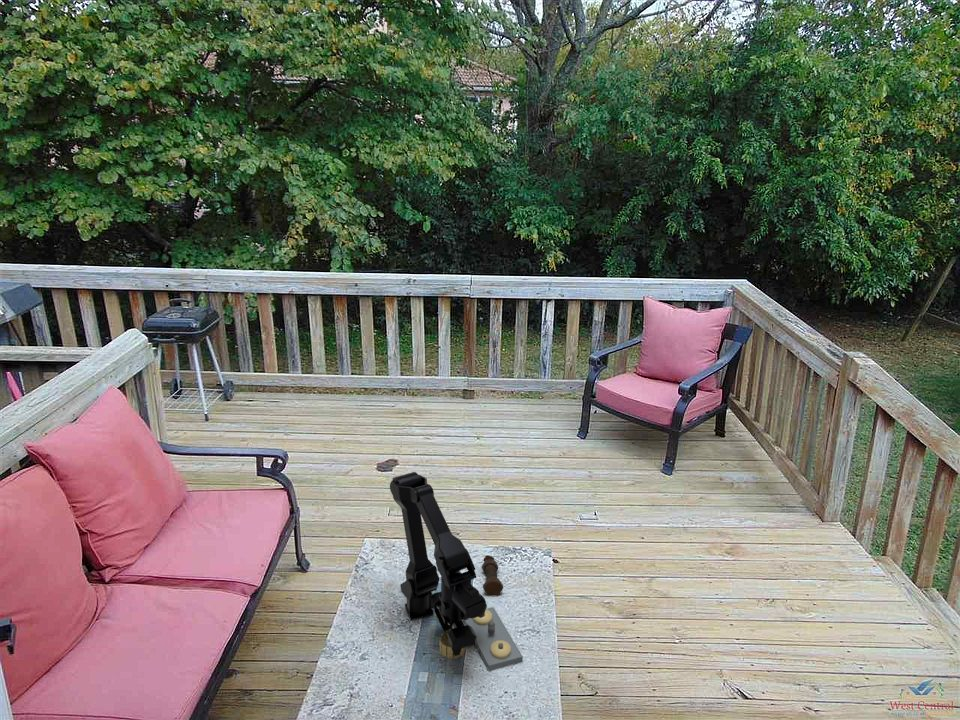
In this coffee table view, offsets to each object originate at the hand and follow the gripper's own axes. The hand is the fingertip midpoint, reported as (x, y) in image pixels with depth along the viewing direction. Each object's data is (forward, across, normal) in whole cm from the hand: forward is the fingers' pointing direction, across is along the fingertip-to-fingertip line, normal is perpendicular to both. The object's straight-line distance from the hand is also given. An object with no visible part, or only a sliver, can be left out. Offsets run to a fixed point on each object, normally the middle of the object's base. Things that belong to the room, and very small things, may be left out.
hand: (452, 645), depth 165 cm
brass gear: (+1, 0, 0) cm, 1 cm away
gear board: (+1, 0, -10) cm, 11 cm away
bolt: (+2, +23, -20) cm, 30 cm away
